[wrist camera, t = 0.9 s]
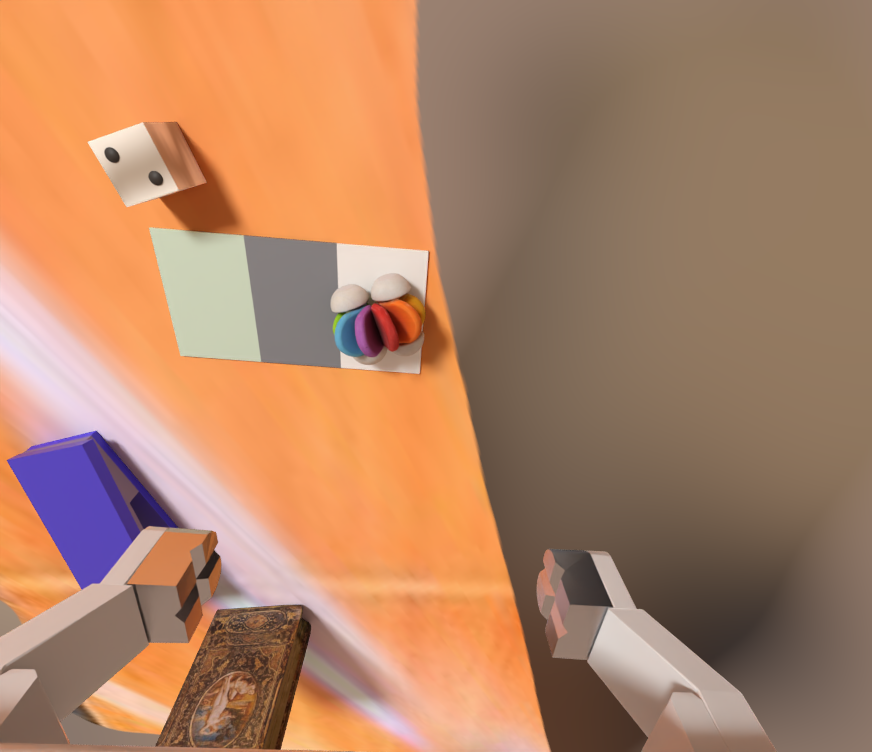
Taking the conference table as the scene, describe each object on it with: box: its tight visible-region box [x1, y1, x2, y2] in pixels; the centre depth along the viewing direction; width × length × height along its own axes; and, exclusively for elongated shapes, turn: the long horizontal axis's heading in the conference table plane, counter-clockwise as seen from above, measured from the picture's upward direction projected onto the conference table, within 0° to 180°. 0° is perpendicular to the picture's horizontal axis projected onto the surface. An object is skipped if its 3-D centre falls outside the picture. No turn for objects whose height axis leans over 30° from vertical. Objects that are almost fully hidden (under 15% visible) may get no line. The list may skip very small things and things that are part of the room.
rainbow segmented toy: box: [331, 273, 426, 365], centre depth 43 cm, size 8×10×7 cm
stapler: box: [7, 431, 178, 589], centre depth 58 cm, size 12×28×10 cm, turn 15°
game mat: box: [149, 227, 429, 374], centre depth 46 cm, size 14×27×1 cm, turn 85°
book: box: [155, 605, 311, 750], centre depth 65 cm, size 16×6×25 cm, turn 97°
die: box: [88, 122, 207, 207], centre depth 37 cm, size 5×5×5 cm
